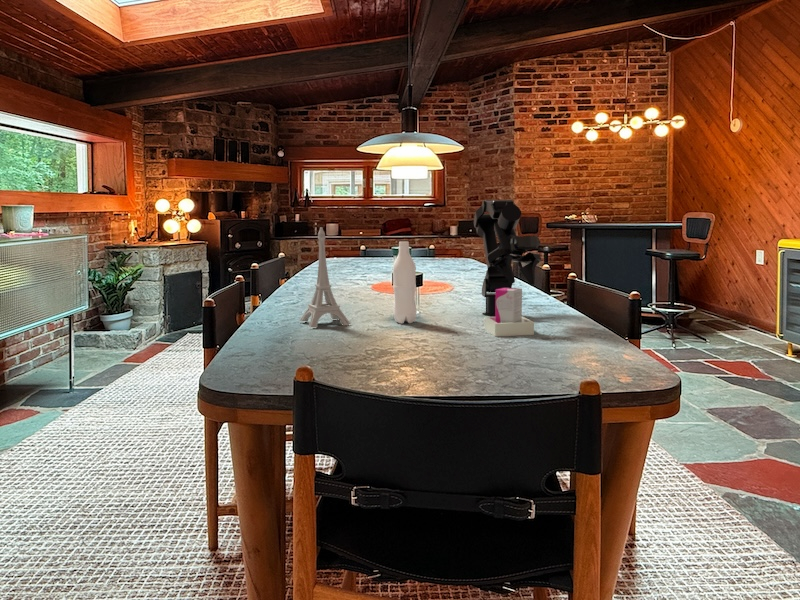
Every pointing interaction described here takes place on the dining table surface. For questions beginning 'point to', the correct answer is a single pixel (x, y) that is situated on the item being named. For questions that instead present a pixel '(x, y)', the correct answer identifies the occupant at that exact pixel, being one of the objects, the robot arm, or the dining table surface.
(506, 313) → the supplement box
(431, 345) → the dining table surface
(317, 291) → the eiffel tower
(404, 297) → the water bottle
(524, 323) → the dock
